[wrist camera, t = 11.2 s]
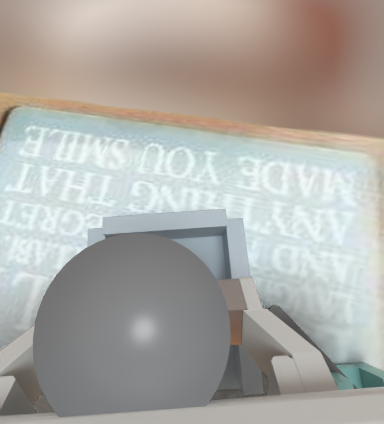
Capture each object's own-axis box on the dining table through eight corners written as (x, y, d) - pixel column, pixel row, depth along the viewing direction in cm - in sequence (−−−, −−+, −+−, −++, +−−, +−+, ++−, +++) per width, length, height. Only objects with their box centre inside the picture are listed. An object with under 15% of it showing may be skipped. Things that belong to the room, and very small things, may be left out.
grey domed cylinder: (129, 352, 15) (18, 461, 6) (129, 267, 16) (37, 235, 7) (213, 346, 15) (246, 444, 6) (206, 261, 16) (224, 222, 7)
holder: (96, 393, 17) (67, 424, 13) (99, 232, 20) (76, 219, 16) (259, 381, 17) (278, 408, 13) (240, 223, 20) (251, 206, 16)
